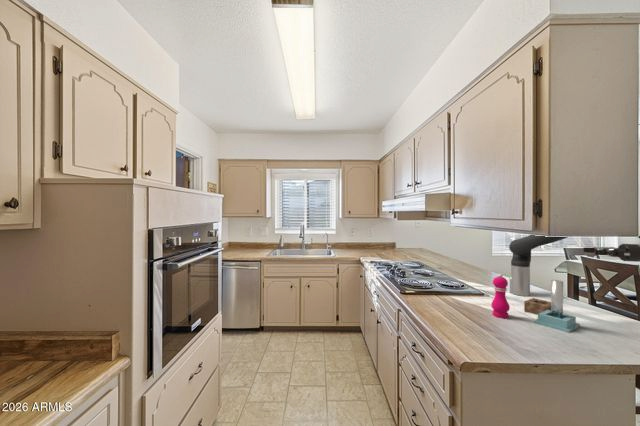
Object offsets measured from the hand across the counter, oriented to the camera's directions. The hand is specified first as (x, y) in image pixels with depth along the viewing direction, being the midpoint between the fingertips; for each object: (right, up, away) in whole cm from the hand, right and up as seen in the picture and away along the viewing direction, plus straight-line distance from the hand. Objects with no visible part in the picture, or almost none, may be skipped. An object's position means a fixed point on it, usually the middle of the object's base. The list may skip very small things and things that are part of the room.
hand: (589, 251), depth 124 cm
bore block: (-13, -32, +11) cm, 36 cm away
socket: (-18, -32, -4) cm, 37 cm away
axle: (-18, -31, -4) cm, 36 cm away
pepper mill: (-36, -32, +6) cm, 49 cm away
